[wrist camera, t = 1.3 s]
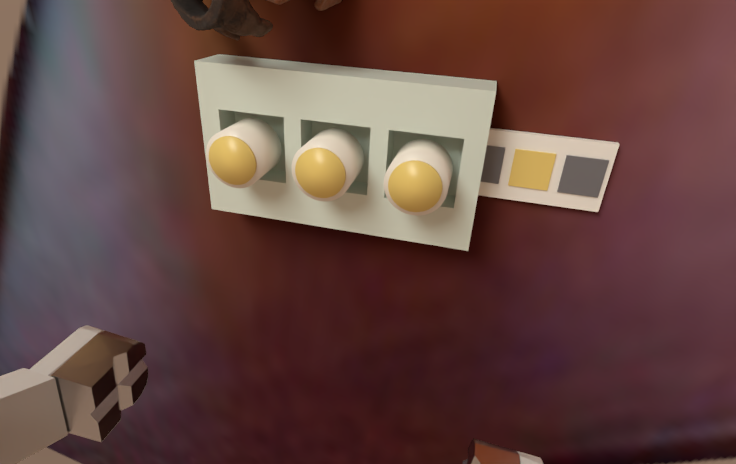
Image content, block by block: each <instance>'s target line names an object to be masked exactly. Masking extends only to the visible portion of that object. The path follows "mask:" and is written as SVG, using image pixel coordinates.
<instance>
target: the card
mask: <svg viewBox="0 0 736 464" xmlns="http://www.w3.org/2000/svg"><path fill="white" fill-rule="evenodd" d="M619 145H620V144H619V143H618V142H609V141H601V140H592V139H583V138H575V137H566V136H557V135H548V134H540V133H531V132H522V131H514V130H505V129H496V128H490V130H489V136H488V142H487V147H486V153H485V159H484V164H483V170H482V175H481V181H480V187H479V192H478V195H480V196H487V197H494V198H501V199H508V200H515V201H522V202H529V203H536V204H543V205H551V206H558V207H565V208H572V209H579V210H586V211H593V212H598V211H599V208H600V205H601V202H602V199H603V195H604V192H605V189H606V186H607V183H608V180H609V176H610V173H611V170H612V167H613V164H614V161H615V157H616V154H617V151H618V148H619Z"/></svg>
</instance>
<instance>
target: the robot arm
mask: <svg viewBox="0 0 736 464" xmlns="http://www.w3.org/2000/svg"><path fill="white" fill-rule="evenodd" d="M145 355H146V349H145V344H144V343H141V342H138V341H135V340H132V339H129V338H126V337H123V336H120V335H117V334H114V333H111V332H107V331H104V330H101V329H97V328H94V327H91V326H88V325H86V326H84V327H81V328H79V329H77V330H76V331H75V332H74V333H73V334H71V335H70V336H69V337H68V338H67V339H65V340H64V341H63V342H62V343H61V344H59V345H58V346H57V347H56V348H55V349H53V350H52V351H51V352H50V353H49V354H47V355H46V356H45V357H44V358H43V359H41V360H40V361H39V362H38V363H37V364H35V365H34V366H33V367H32V368H31V369H25V368H22V369H20V370H17V371H14V372H11V373H8V374H5V375H2V376H0V464H17V463H18V462H20V461H22V460H24V459H26V458H27V457H29V456H31V455H33V454H35V453H36V452H38V451H40V450H42V449H44V448H45V447H47V446H49V445H51V444H53V443H54V442H56V441H58V440H60V439H62V438H63V437H65V436H67V435H68V433H71V434H75V435H78V436H82V437H85V438H89V439H92V440H95V441H99V442H102V441H103V440H104V439H105V438H106V436H107V435H108V434H109V433H110V432H111V430H112V429H113V428H114V427H115V426H116V425H117V423H118V422H119V421H120V420H121V410H123V409H125V408H127V407H130V406H132V405H133V404H134V403H135V402H136V401H137V400H138V398H139V397H140V396H141V394H142V392H143V390H144V388H145V386H146V384H147V379H148V367H147V366H146V364H145V363H144V362H143V360H142V358H143V357H144V356H145ZM462 464H543V461H542V460H541V458H540V457H536V456H533V455H529V454H526V453H522V452H519V451H516V450H513V449H510V448H506V447H502V446H499V445H495V444H492V443H488V442H484V441H481V440H477V439H474V438H473V440H472V441H471V443H470V445H469V447H468V459H467V460H465V461H463V463H462Z"/></svg>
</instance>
